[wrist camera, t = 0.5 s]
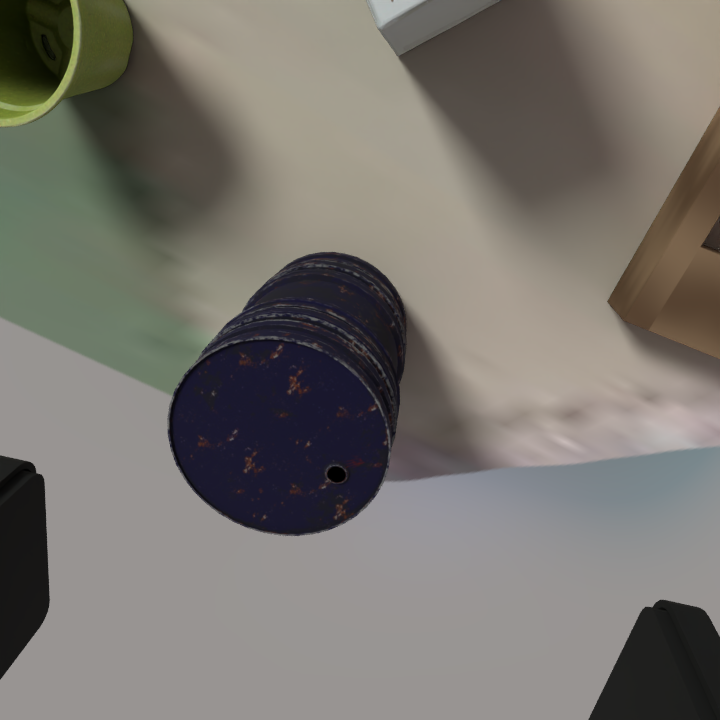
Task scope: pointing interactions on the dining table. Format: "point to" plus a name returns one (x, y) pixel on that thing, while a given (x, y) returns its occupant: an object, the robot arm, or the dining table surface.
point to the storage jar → (296, 399)
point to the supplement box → (420, 19)
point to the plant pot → (58, 53)
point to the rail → (680, 259)
